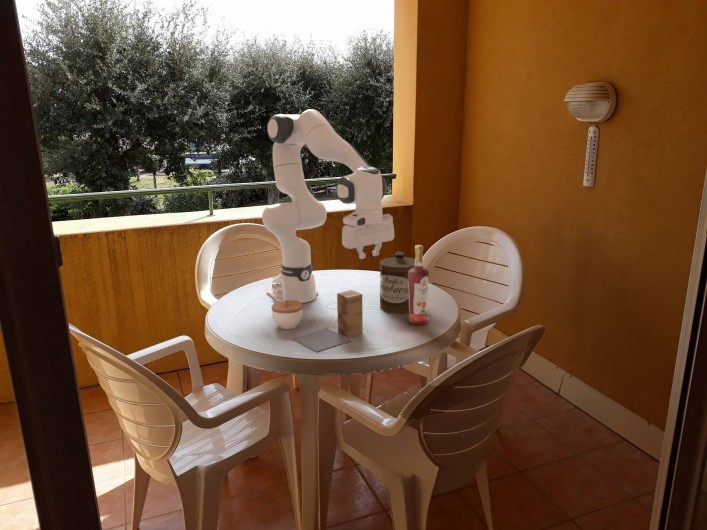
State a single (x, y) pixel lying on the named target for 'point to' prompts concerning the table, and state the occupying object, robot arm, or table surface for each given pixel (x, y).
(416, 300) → the liquor
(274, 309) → the lidded jar
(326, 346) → the slate mat
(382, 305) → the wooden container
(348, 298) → the walnut block
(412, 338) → the table surface
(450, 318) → the table surface
